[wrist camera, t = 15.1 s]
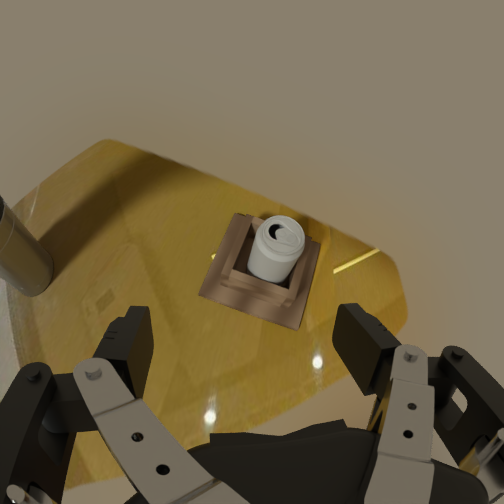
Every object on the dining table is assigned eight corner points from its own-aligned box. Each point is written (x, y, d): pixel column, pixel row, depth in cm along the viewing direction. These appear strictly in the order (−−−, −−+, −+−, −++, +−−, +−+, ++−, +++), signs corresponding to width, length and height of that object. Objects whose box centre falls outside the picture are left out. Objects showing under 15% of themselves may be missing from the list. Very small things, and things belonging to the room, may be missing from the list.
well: (198, 295, 43) (197, 282, 39) (234, 215, 51) (237, 197, 46) (296, 330, 43) (307, 322, 38) (319, 246, 50) (329, 230, 46)
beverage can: (258, 248, 48) (272, 204, 37) (292, 267, 47) (315, 228, 36) (238, 278, 45) (247, 239, 34) (274, 299, 44) (294, 266, 33)
